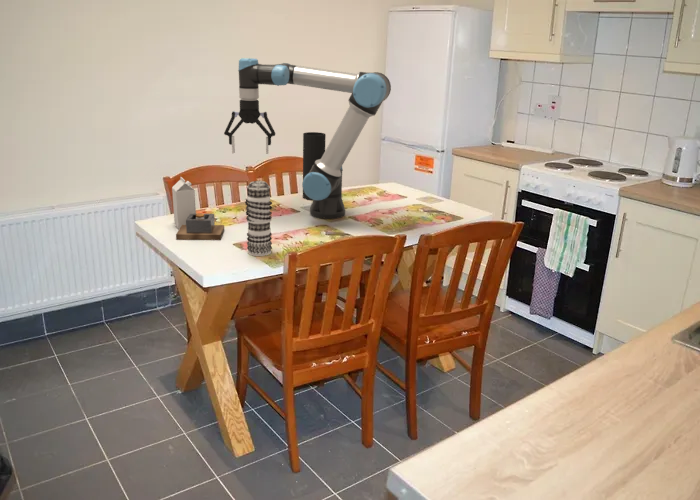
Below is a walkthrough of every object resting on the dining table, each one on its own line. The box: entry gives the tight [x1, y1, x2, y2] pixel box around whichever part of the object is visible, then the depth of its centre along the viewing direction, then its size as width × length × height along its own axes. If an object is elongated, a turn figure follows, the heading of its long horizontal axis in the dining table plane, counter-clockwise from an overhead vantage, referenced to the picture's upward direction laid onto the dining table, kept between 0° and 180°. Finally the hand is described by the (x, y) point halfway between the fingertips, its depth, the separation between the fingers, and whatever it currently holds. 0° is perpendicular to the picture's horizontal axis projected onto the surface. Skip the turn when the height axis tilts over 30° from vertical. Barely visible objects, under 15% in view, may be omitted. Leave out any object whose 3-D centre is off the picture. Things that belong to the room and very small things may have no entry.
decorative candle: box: [244, 180, 273, 257], centre depth 209 cm, size 9×9×25 cm
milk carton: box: [171, 176, 197, 230], centre depth 236 cm, size 7×7×19 cm
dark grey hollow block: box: [186, 213, 216, 233], centre depth 228 cm, size 9×9×5 cm
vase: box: [302, 131, 327, 201], centre depth 283 cm, size 10×10×30 cm
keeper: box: [175, 212, 225, 241], centre depth 228 cm, size 16×12×8 cm
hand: (250, 153), depth 246 cm, fingers open, 13 cm apart
